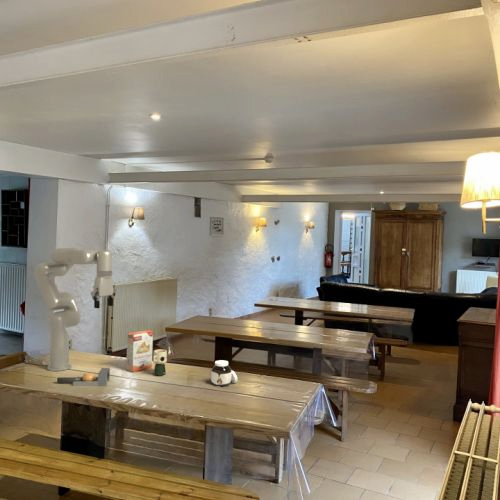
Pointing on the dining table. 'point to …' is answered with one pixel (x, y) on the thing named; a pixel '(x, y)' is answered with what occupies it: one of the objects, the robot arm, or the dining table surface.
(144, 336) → the cracker box
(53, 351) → the robot arm
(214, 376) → the spread jar
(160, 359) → the character mug
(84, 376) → the grey and orange rod
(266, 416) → the dining table surface
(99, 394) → the dining table surface
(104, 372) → the tunnel block
